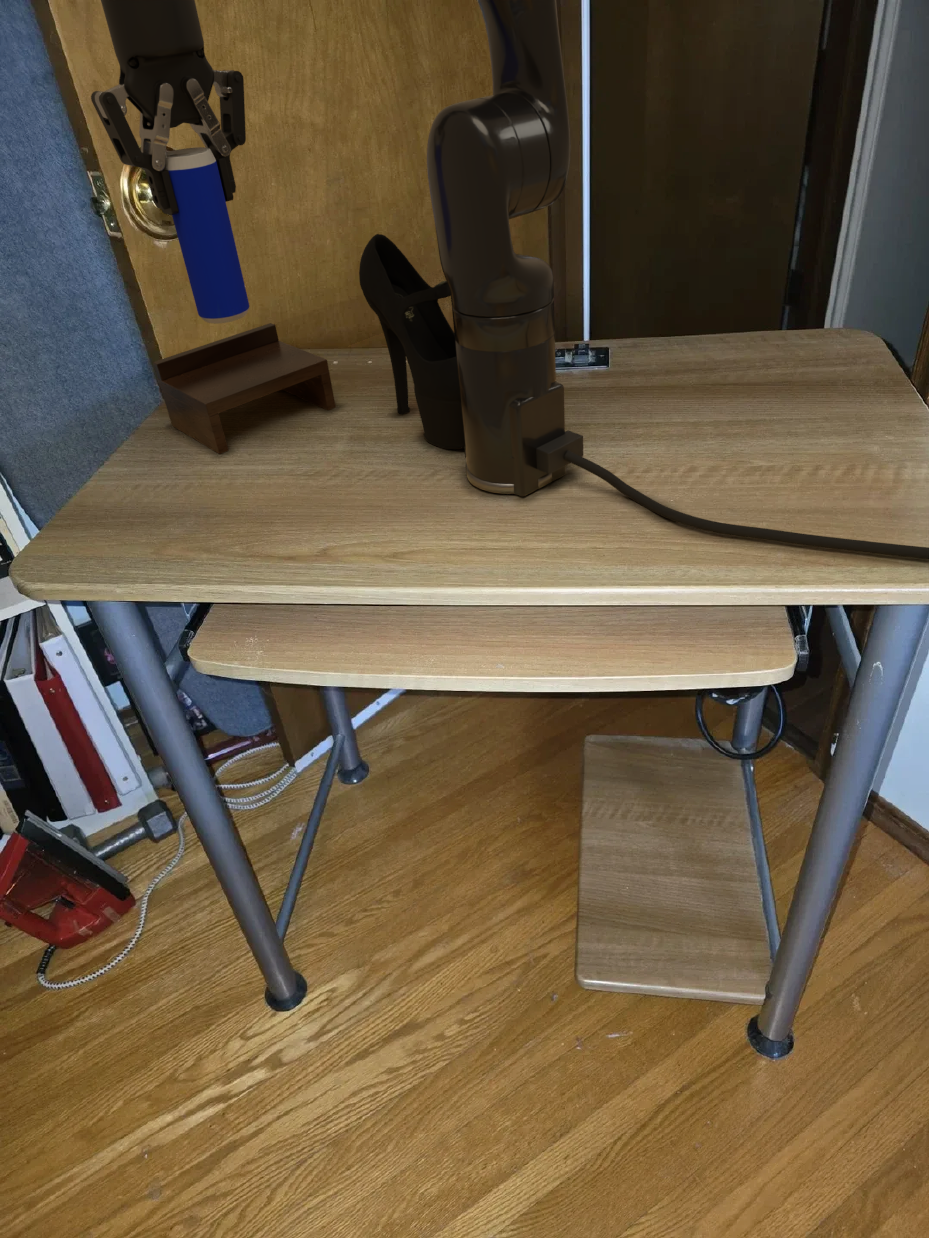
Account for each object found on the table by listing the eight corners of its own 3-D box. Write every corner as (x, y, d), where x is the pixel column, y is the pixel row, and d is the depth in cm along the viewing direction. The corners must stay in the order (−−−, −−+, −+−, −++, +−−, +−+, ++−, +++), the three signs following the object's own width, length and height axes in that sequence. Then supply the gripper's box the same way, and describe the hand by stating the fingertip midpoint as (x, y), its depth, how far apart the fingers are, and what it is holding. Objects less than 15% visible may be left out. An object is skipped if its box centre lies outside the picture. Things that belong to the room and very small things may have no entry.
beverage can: (258, 307, 91) (222, 145, 82) (239, 324, 87) (199, 156, 78) (212, 308, 92) (171, 148, 83) (191, 325, 88) (146, 159, 79)
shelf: (336, 407, 107) (324, 342, 102) (219, 454, 99) (200, 386, 94) (284, 384, 115) (270, 322, 110) (172, 426, 107) (152, 362, 102)
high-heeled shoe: (466, 466, 91) (446, 266, 80) (364, 418, 104) (334, 238, 92) (523, 440, 95) (512, 246, 83) (418, 396, 108) (395, 222, 96)
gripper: (80, -5, 67) (146, 230, 78) (242, -23, 74) (284, 195, 85) (44, -2, 72) (111, 219, 82) (200, -19, 79) (244, 187, 89)
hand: (198, 206), depth 83 cm, fingers closed on beverage can, 5 cm apart
